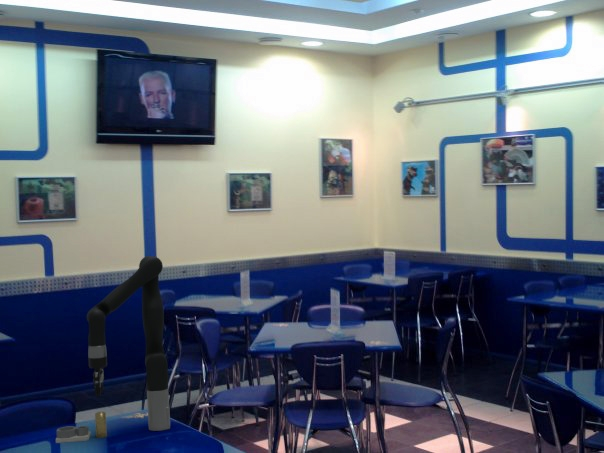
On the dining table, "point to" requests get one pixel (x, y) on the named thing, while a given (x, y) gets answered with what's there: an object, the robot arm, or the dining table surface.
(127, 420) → the dining table surface
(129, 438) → the dining table surface
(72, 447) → the dining table surface
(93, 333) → the robot arm
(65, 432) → the grey mounting plate
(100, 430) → the brass cylinder
